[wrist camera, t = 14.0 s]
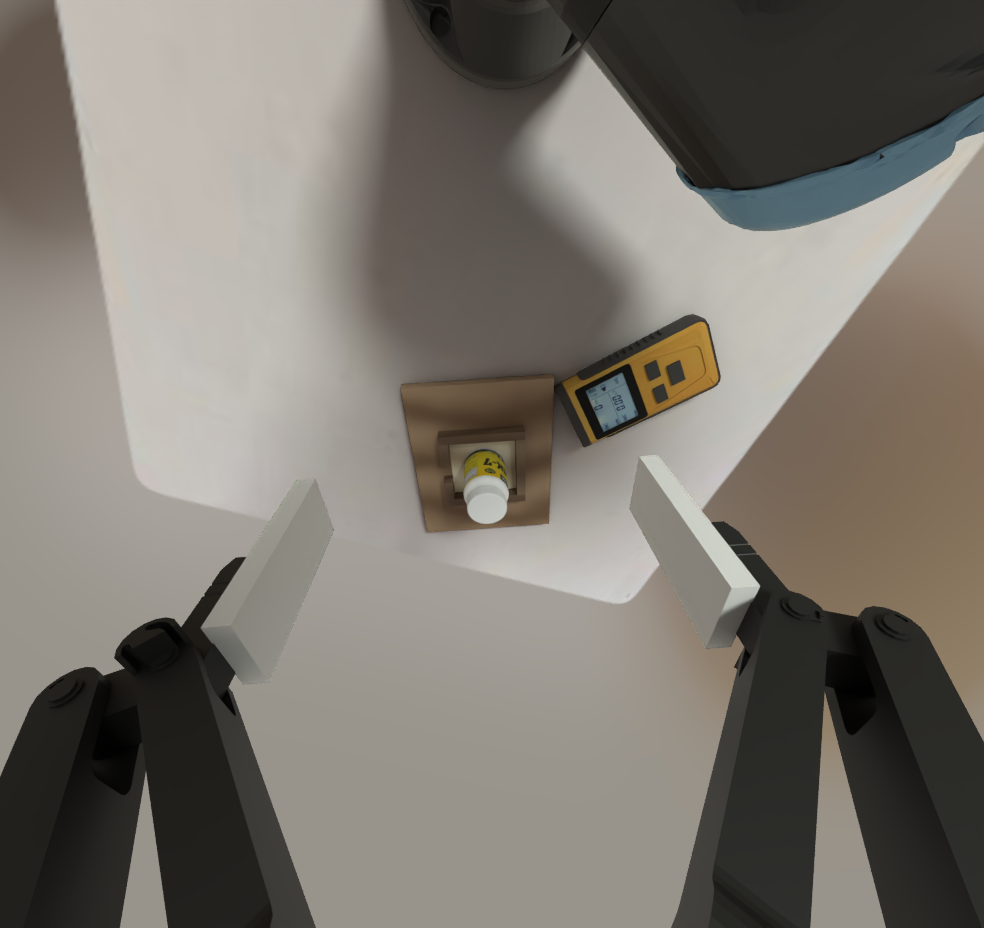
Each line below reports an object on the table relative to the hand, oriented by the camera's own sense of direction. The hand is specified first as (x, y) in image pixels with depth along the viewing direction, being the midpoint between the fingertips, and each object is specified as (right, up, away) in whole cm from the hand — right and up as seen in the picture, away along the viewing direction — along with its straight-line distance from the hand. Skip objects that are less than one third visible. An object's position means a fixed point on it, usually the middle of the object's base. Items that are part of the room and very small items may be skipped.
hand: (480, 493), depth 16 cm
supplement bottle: (0, +1, +30) cm, 30 cm away
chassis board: (-1, +2, +31) cm, 31 cm away
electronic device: (+16, +11, +27) cm, 33 cm away
